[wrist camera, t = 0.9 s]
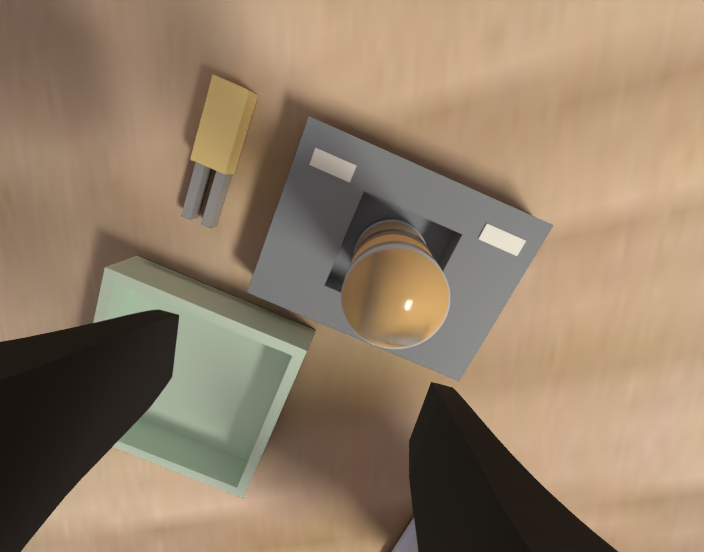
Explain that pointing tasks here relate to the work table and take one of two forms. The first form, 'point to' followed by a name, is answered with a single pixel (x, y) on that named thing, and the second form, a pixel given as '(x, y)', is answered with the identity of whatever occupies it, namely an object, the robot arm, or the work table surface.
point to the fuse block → (402, 203)
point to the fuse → (394, 287)
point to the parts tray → (208, 374)
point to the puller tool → (218, 146)
